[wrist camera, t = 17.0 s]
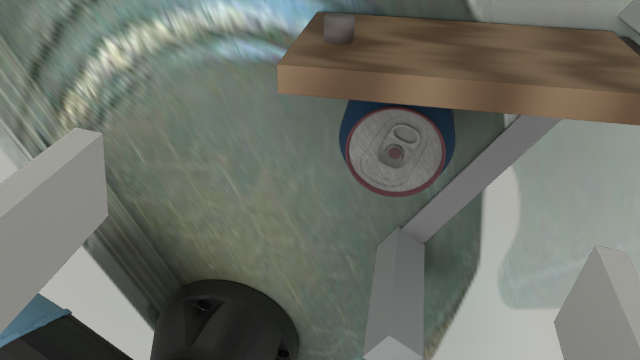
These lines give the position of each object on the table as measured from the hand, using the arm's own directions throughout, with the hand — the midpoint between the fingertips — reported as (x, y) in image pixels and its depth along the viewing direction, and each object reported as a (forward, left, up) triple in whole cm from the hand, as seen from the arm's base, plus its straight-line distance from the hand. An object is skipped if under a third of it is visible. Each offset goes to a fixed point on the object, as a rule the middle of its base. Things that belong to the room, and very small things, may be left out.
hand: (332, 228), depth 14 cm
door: (+2, -5, -27) cm, 28 cm away
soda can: (-4, -4, -28) cm, 29 cm away
